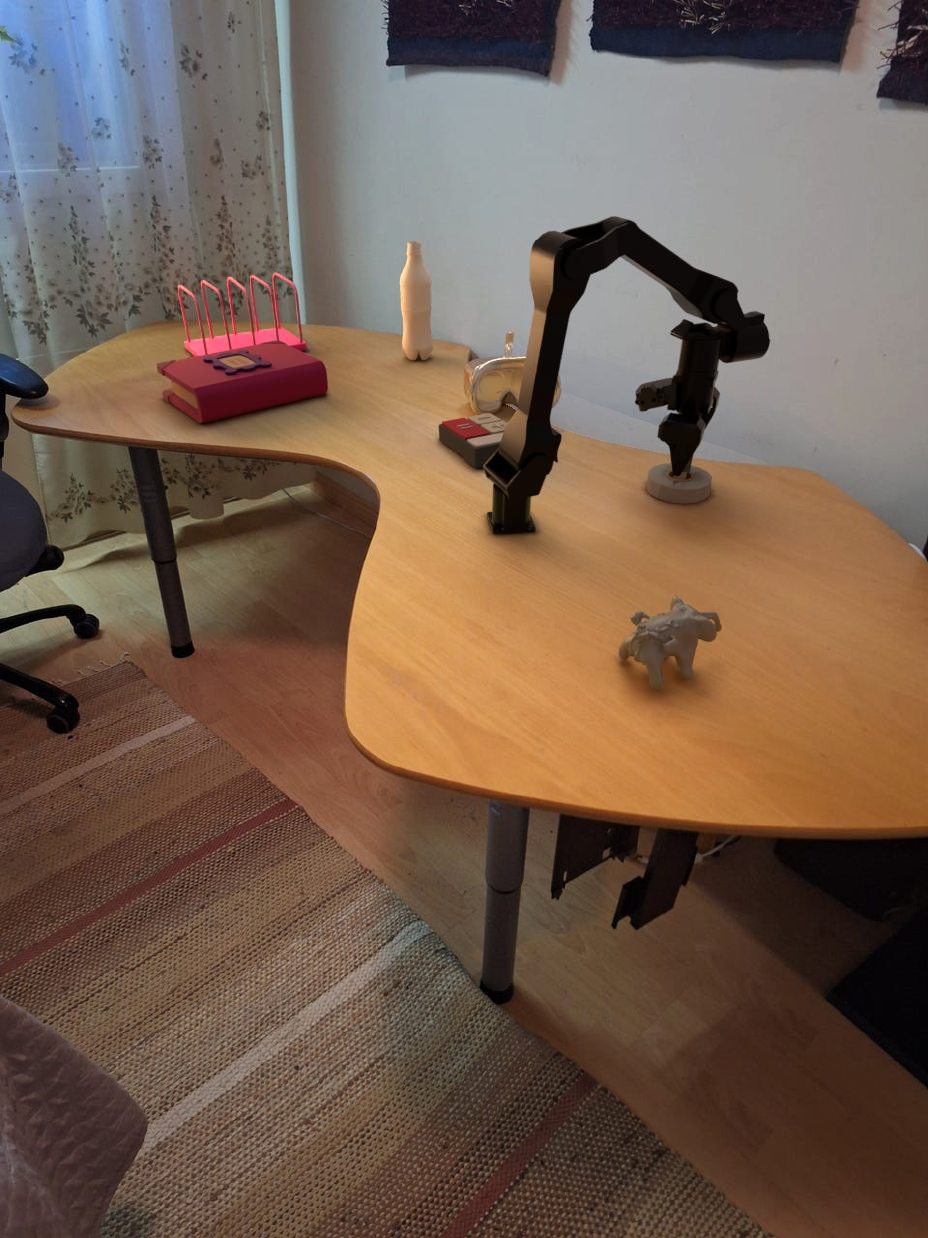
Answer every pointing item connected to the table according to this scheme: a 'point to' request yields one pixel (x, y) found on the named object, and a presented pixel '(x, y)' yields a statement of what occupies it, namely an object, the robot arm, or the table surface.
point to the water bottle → (416, 305)
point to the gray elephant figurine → (669, 639)
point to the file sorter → (235, 339)
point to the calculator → (473, 437)
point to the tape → (678, 484)
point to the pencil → (684, 471)
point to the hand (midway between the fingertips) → (681, 464)
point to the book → (242, 380)
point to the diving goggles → (497, 381)
